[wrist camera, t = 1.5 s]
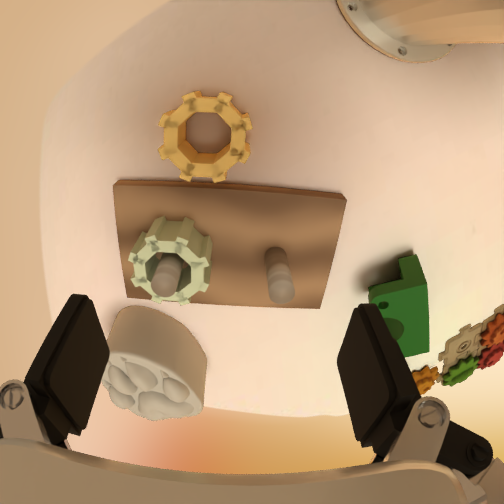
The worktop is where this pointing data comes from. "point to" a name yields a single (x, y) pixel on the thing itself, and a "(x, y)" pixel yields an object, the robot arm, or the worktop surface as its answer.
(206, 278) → the sage gear
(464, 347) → the gear puzzle
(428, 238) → the worktop surface
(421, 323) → the clamp
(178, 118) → the mustard gear
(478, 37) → the robot arm
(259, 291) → the gear board
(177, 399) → the lumpy-topped squat cylinder
